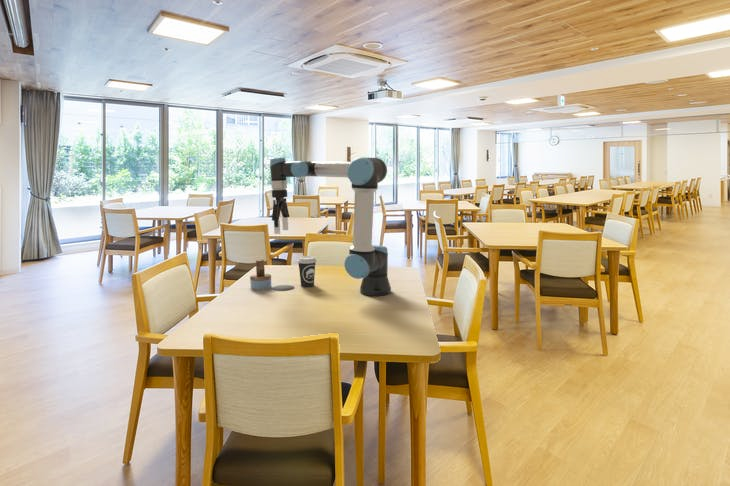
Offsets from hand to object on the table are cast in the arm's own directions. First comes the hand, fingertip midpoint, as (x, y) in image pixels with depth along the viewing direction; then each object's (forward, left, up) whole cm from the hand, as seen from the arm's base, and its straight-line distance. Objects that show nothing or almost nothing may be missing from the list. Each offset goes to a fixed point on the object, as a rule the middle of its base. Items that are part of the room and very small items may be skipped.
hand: (281, 231), depth 236 cm
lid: (+7, +9, -23) cm, 26 cm away
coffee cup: (-9, -8, -28) cm, 31 cm away
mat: (-3, +3, -28) cm, 29 cm away
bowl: (+7, +9, -28) cm, 30 cm away
